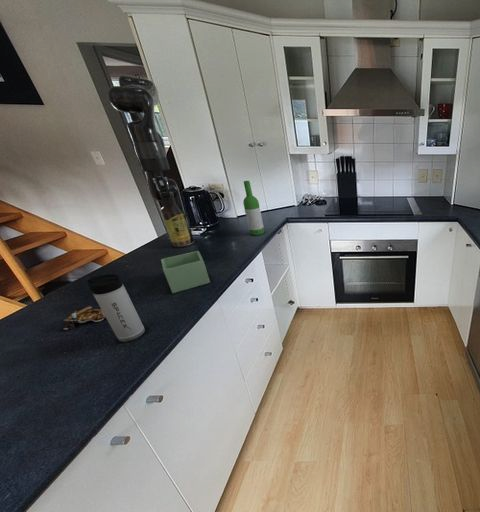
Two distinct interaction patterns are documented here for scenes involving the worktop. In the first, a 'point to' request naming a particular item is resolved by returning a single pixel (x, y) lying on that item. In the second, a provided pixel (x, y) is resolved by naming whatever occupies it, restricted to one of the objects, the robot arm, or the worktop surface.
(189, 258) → the caddy
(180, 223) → the sauce bottle
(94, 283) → the travel mug
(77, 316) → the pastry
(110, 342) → the worktop surface
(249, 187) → the wine bottle
